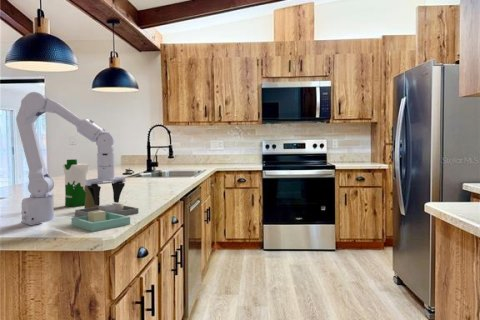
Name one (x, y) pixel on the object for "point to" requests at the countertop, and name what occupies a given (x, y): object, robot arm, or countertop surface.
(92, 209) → the tray
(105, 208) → the light gray rectangular block
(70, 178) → the milk carton
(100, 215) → the tan rectangular block
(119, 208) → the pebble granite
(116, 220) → the dish
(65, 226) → the countertop surface
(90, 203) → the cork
